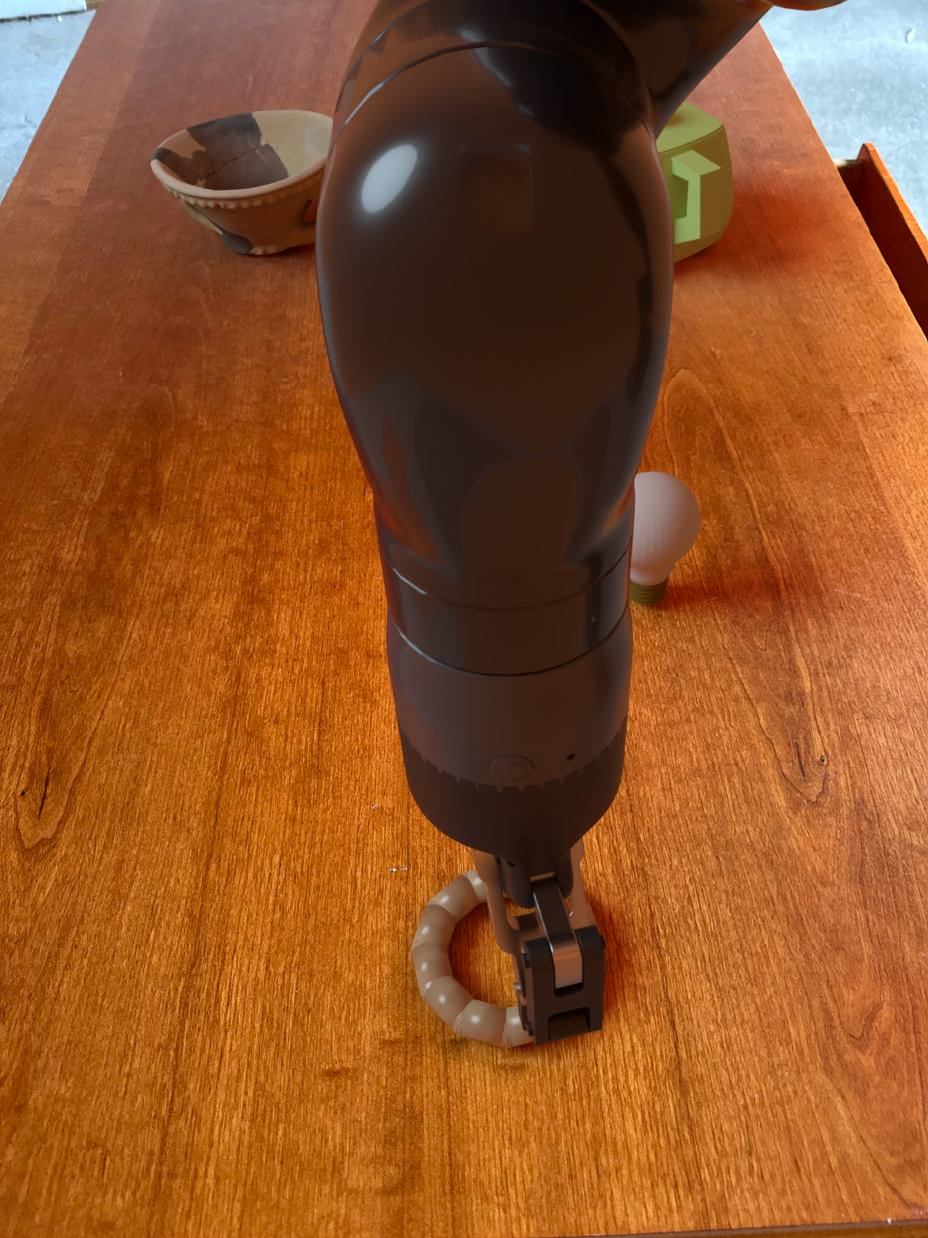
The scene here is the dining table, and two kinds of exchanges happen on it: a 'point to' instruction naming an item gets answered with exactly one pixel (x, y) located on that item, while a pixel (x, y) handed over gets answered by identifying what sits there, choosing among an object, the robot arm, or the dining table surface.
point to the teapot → (696, 178)
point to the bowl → (249, 176)
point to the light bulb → (660, 533)
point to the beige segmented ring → (437, 974)
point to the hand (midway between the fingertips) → (520, 923)
